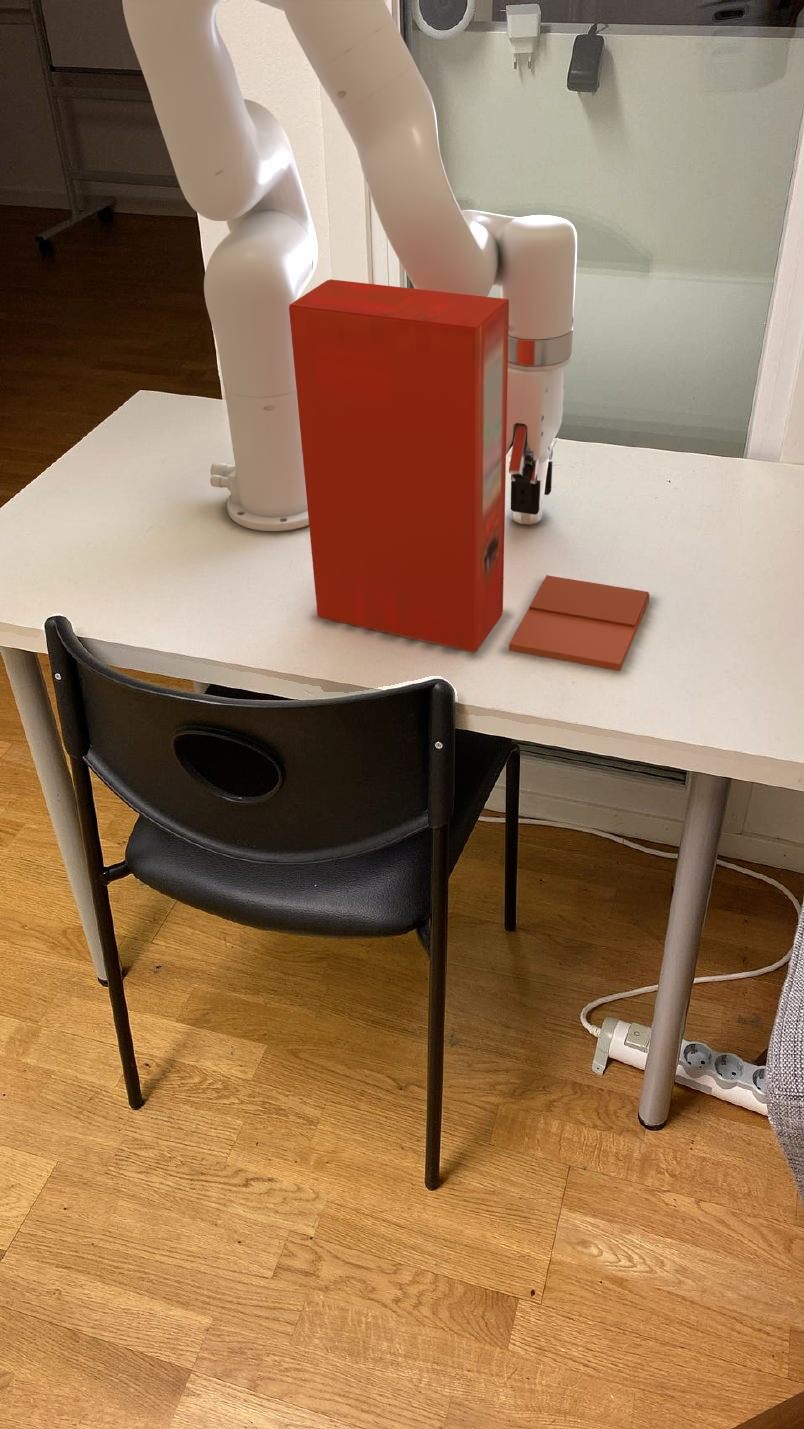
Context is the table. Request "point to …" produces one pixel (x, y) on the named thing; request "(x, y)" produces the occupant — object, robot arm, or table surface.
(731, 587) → the table surface
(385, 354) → the file binder
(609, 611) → the cloth
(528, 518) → the milkshake
